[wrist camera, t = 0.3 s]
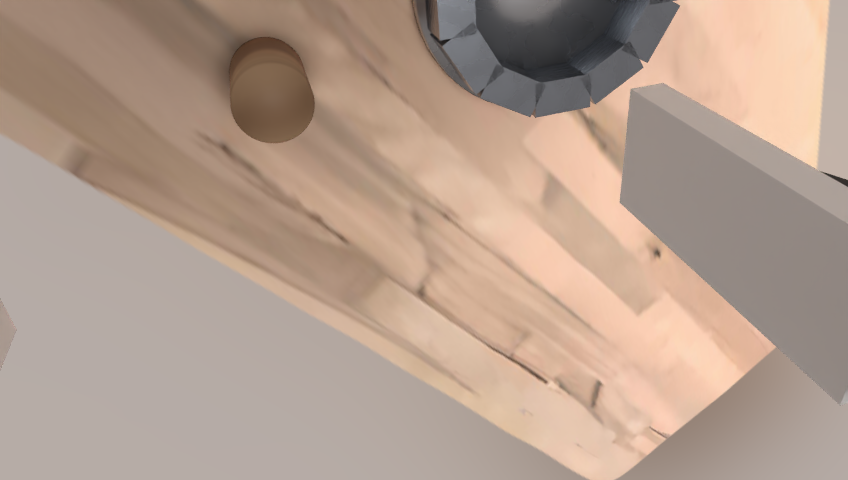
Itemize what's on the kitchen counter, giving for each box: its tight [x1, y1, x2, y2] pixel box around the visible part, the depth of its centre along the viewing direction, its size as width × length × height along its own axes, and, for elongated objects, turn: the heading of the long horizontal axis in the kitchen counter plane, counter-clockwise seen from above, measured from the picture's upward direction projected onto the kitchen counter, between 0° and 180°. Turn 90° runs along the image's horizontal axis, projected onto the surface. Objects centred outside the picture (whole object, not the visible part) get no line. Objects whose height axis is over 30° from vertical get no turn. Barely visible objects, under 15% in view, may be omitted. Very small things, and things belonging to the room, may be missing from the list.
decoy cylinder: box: [229, 37, 315, 143], centre depth 34 cm, size 4×4×5 cm
